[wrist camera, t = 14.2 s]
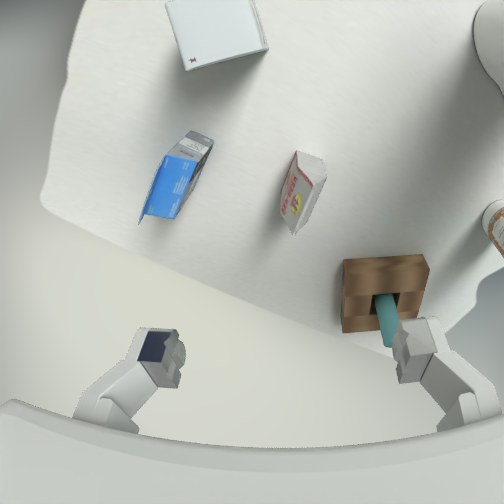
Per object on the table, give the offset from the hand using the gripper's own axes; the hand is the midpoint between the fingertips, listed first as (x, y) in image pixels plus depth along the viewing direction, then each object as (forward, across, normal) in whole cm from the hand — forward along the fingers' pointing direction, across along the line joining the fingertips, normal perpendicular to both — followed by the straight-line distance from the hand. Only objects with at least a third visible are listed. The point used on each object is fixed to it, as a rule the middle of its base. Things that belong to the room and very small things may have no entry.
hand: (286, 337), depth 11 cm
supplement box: (+34, +5, -12) cm, 37 cm away
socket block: (+34, -14, +31) cm, 48 cm away
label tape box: (+34, +14, +5) cm, 37 cm away
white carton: (+34, -1, +9) cm, 36 cm away
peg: (+34, -14, +31) cm, 48 cm away
